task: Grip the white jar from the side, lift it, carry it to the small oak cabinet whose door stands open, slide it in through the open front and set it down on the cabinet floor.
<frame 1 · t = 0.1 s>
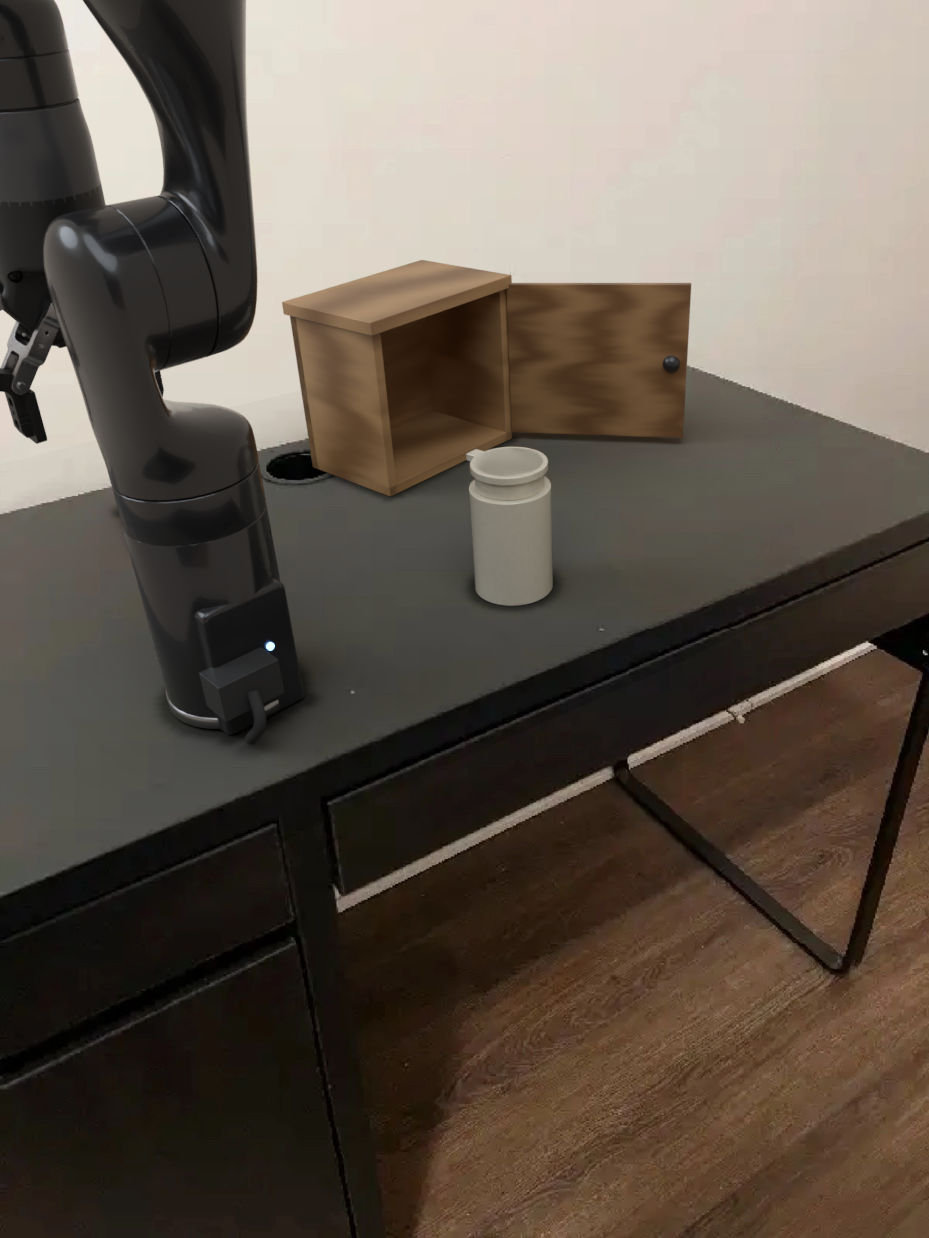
hand: (95, 421, 74), 17 cm above the table, tool pointing down, fingers open, 8 cm apart
cabinet: (414, 452, 109), on the table
white jar: (514, 585, 84), on the table
race car: (157, 523, 99), on the table
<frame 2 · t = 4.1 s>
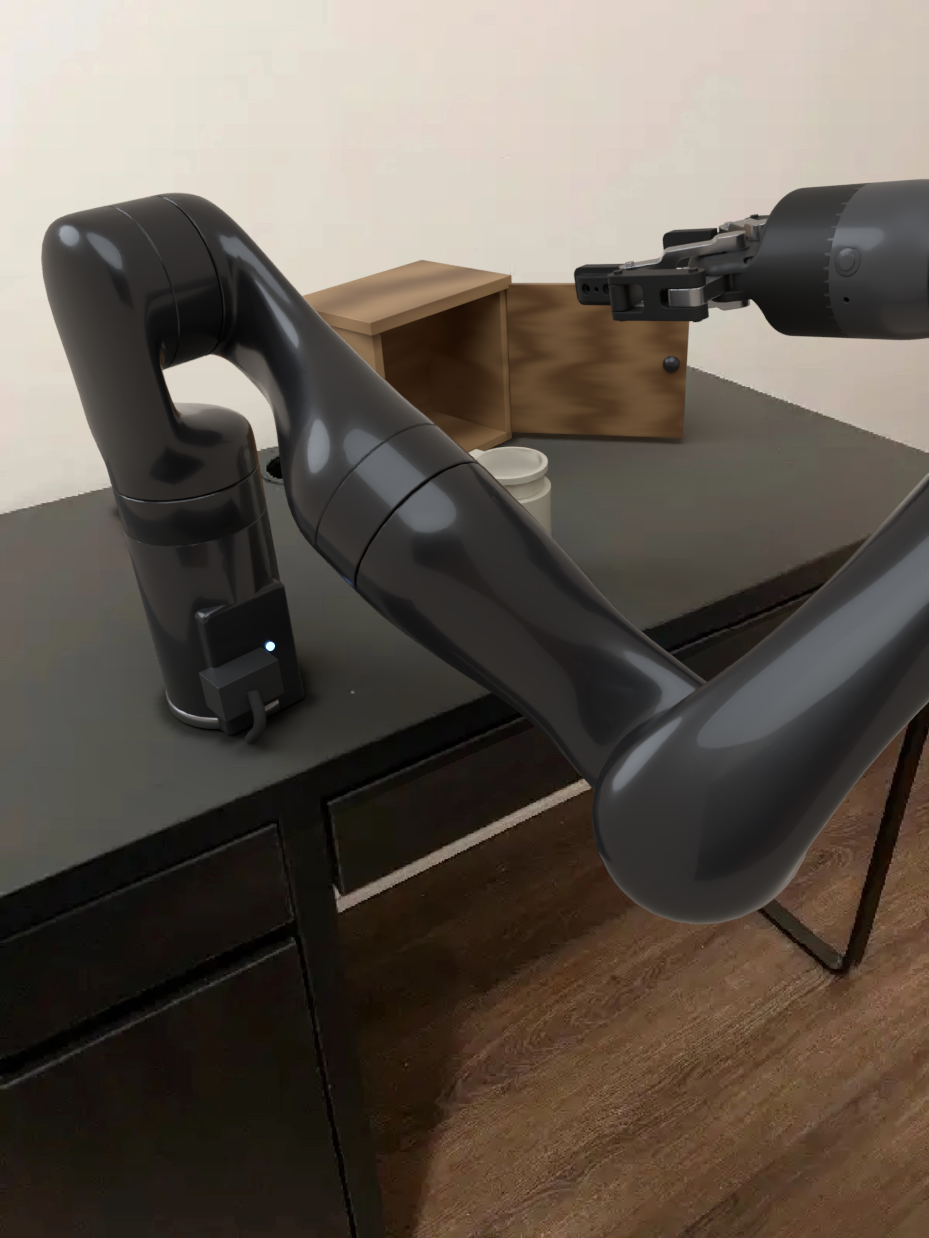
hand: (624, 266, 64), 27 cm above the table, tool horizontal, fingers open, 8 cm apart
nothing on the table moved.
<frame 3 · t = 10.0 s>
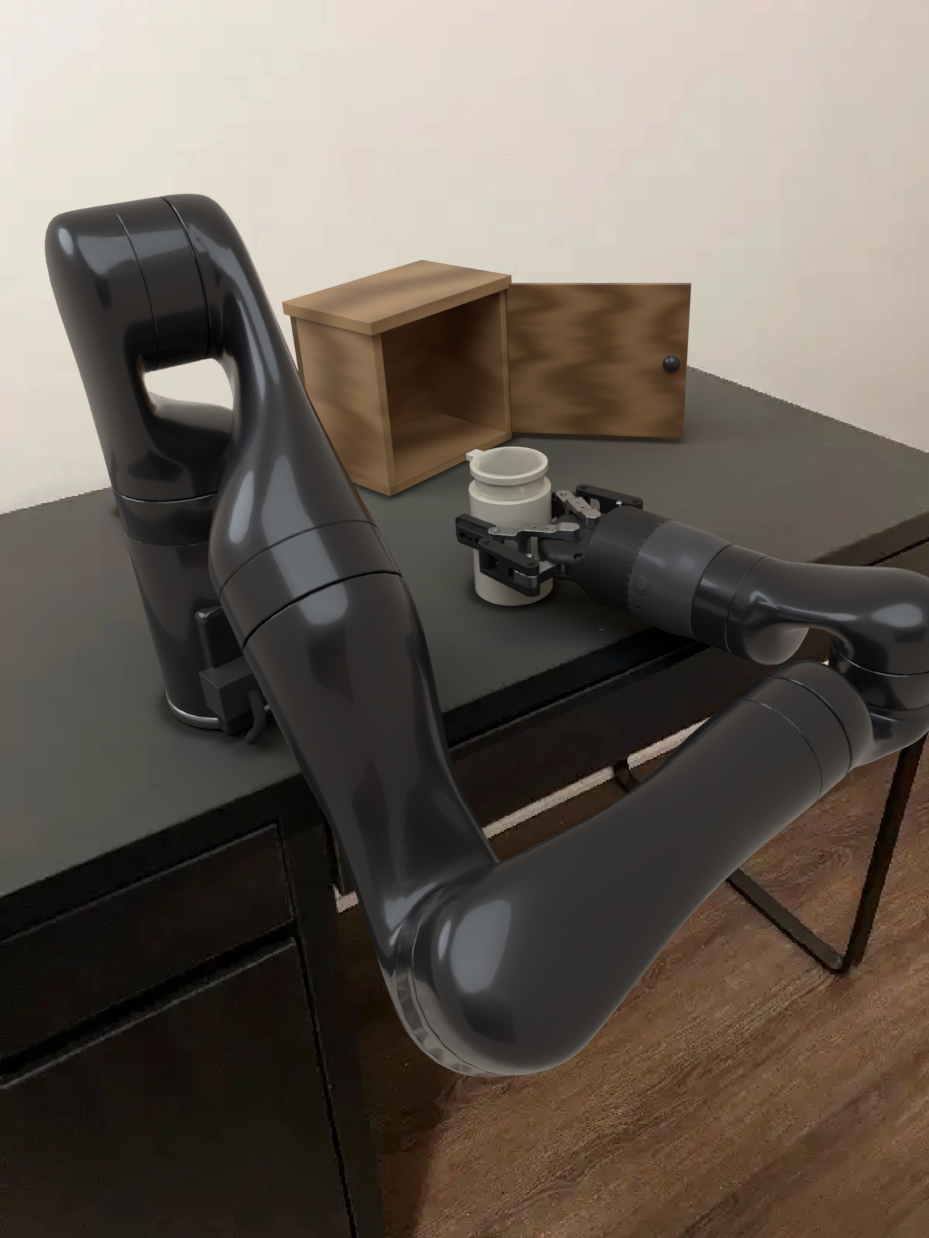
hand: (489, 510, 83), 6 cm above the table, tool horizontal, fingers closed on white jar, 6 cm apart
white jar: (513, 585, 84), on the table, touching gripper
everything else where it was.
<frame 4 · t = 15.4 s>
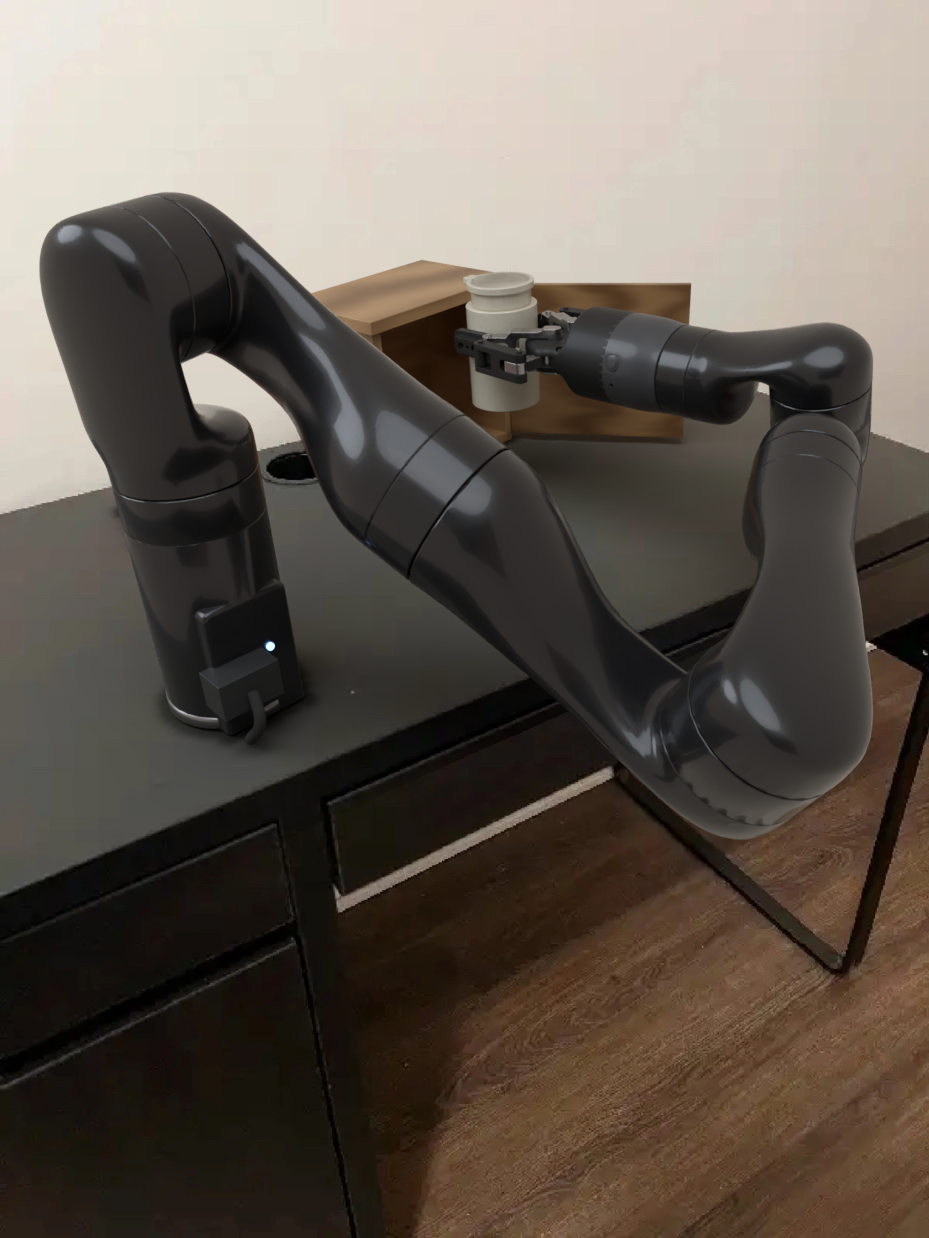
hand: (484, 330, 94), 15 cm above the table, tool horizontal, fingers closed on white jar, 6 cm apart
white jar: (506, 399, 96), point 9 cm above the table, touching gripper
everything else where it was.
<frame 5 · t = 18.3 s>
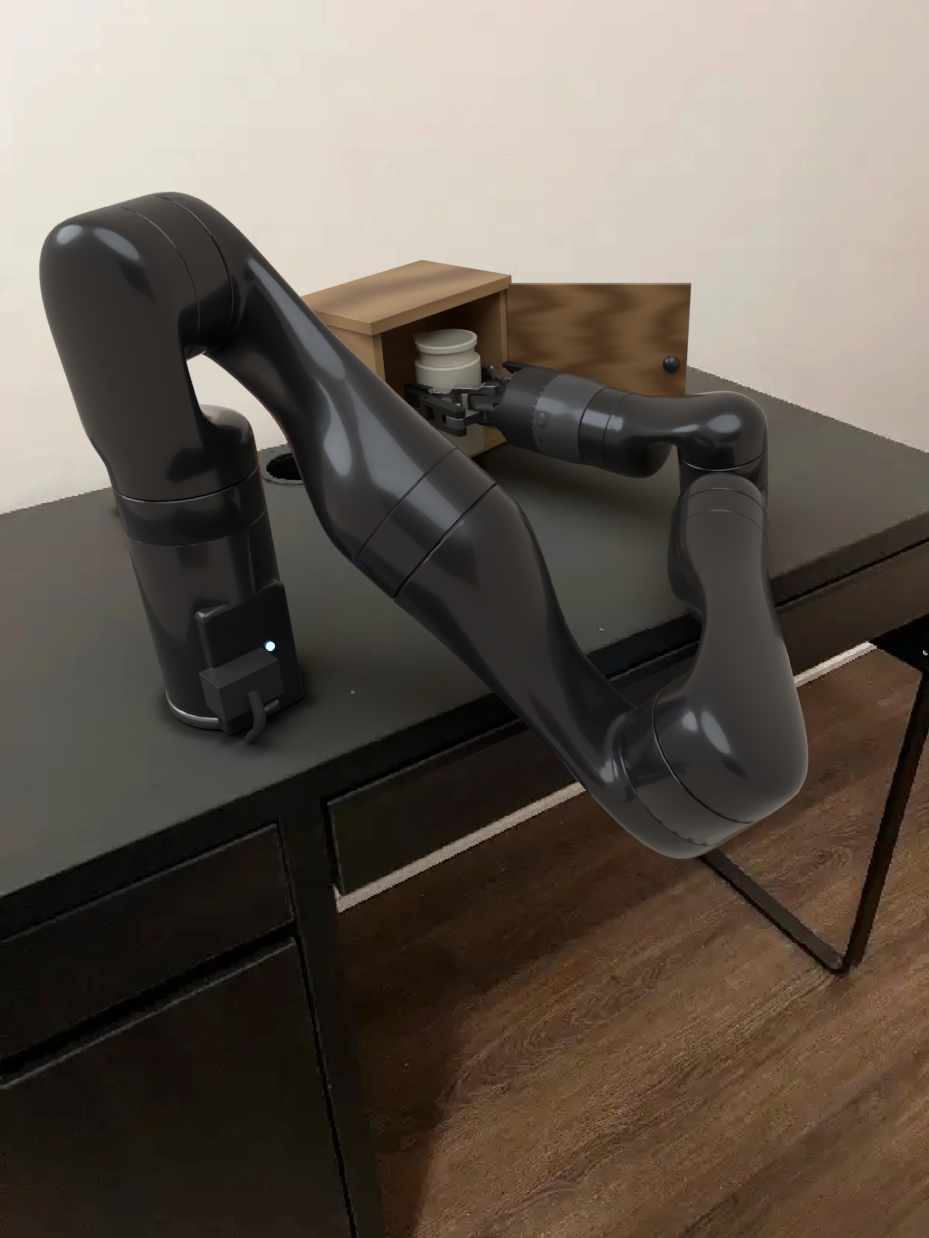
hand: (432, 382, 102), 8 cm above the table, tool horizontal, fingers closed on white jar, 6 cm apart
white jar: (454, 445, 104), point 2 cm above the table, touching gripper
everything else where it was.
when the fingers open (7 cm above the table, at t = 20.7 s): white jar stays where it is, resting on cabinet.
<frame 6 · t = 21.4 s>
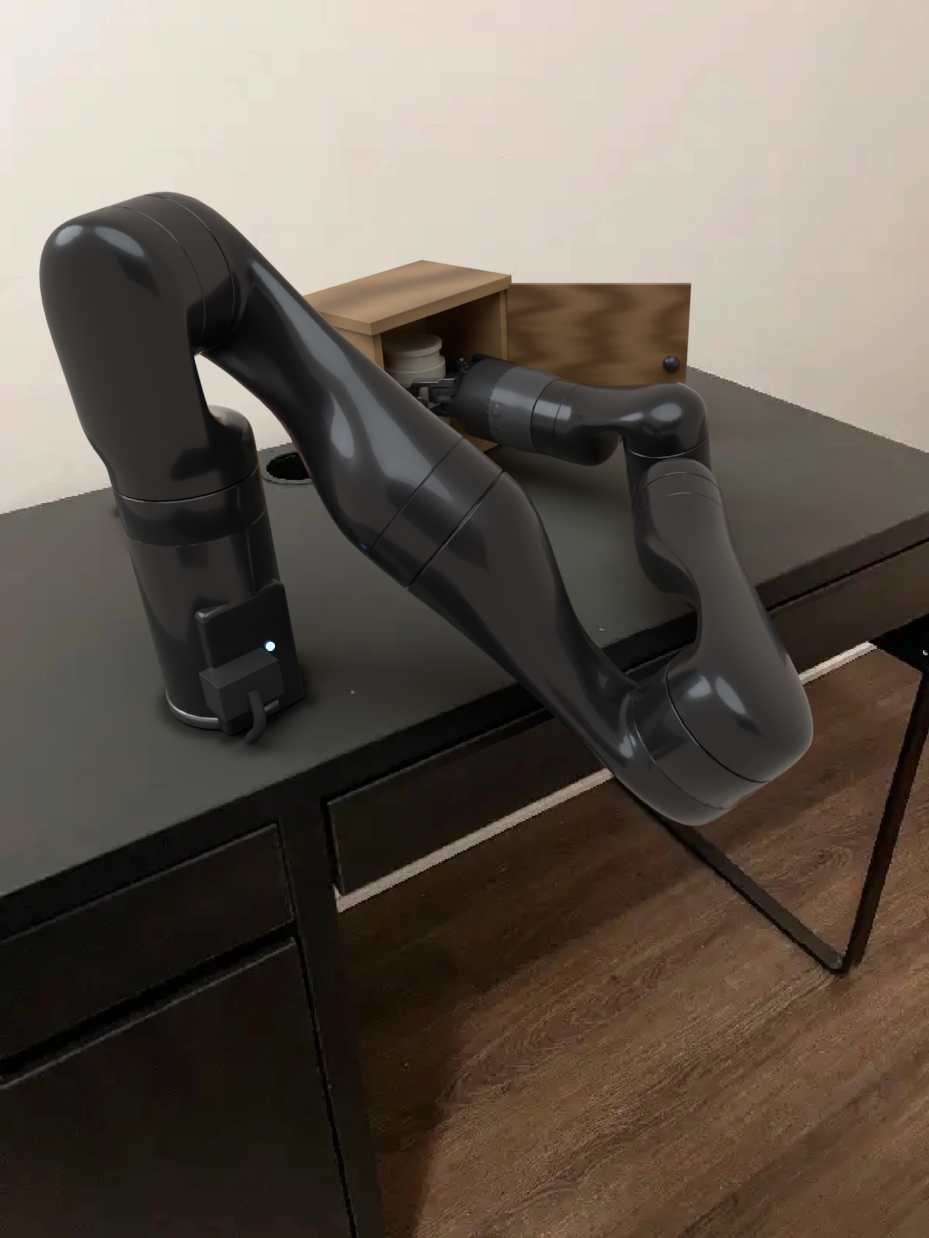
hand: (399, 376, 106), 8 cm above the table, tool horizontal, fingers open, 8 cm apart
white jar: (420, 445, 108), point 1 cm above the table, touching cabinet
everything else where it was.
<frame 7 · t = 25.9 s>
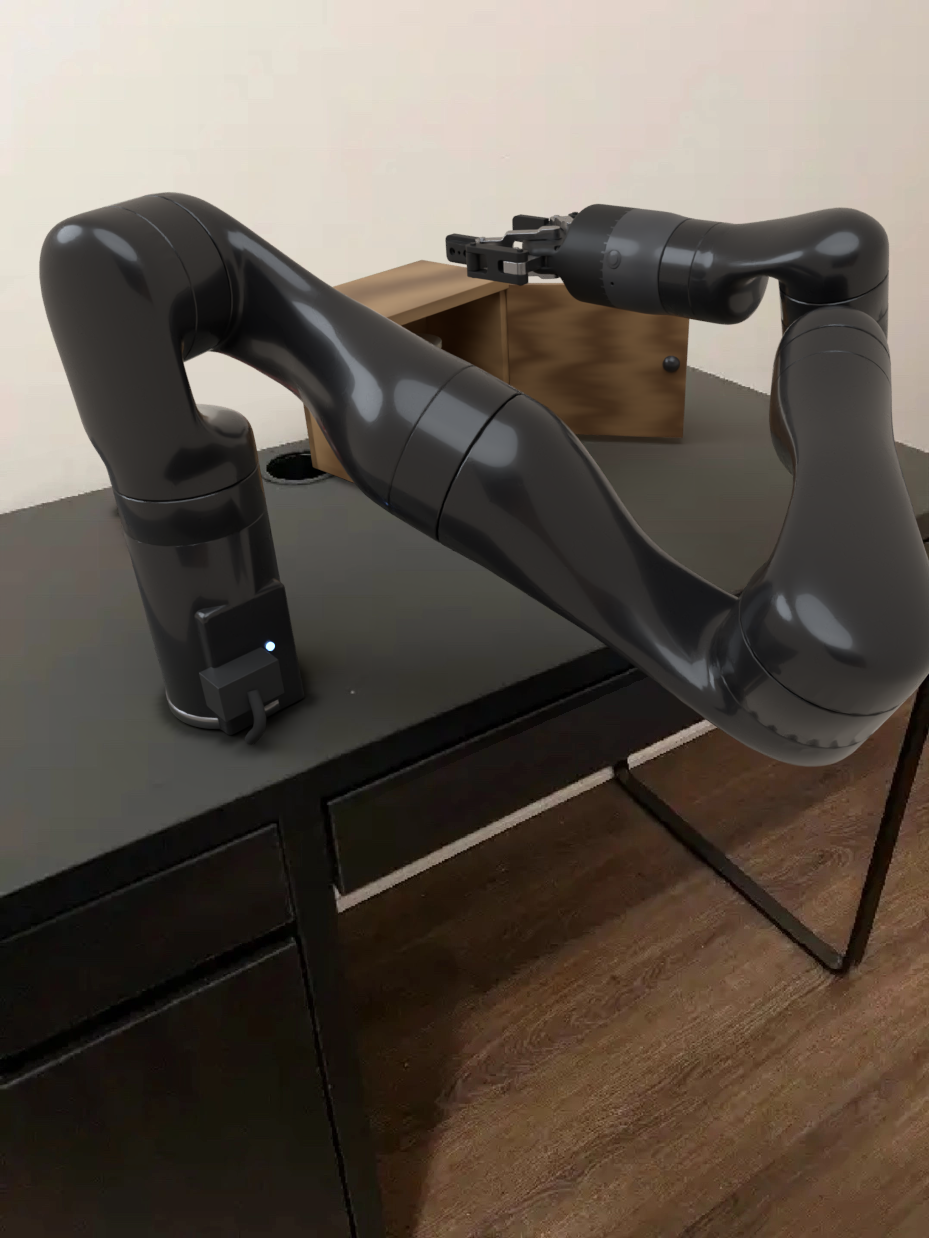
hand: (482, 237, 90), 23 cm above the table, tool horizontal, fingers open, 8 cm apart
nothing on the table moved.
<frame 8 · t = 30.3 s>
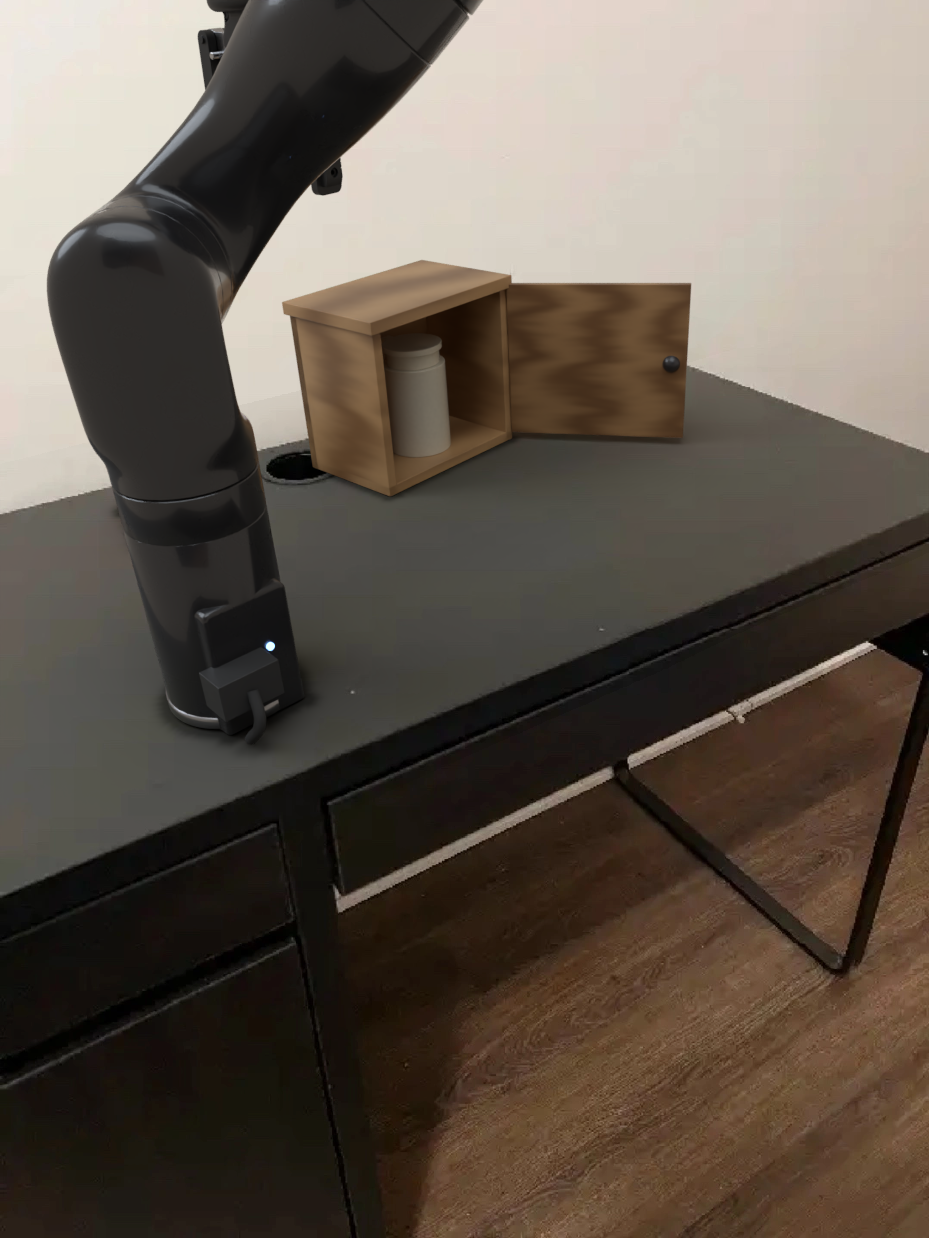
hand: (290, 189, 76), 30 cm above the table, tool pointing down, fingers open, 8 cm apart
nothing on the table moved.
at the end: white jar inside the target area on the cabinet (0.8 cm from its centre), point 1.0 cm above the cabinet's base; white jar tilted 0°; the gripper is holding nothing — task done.
